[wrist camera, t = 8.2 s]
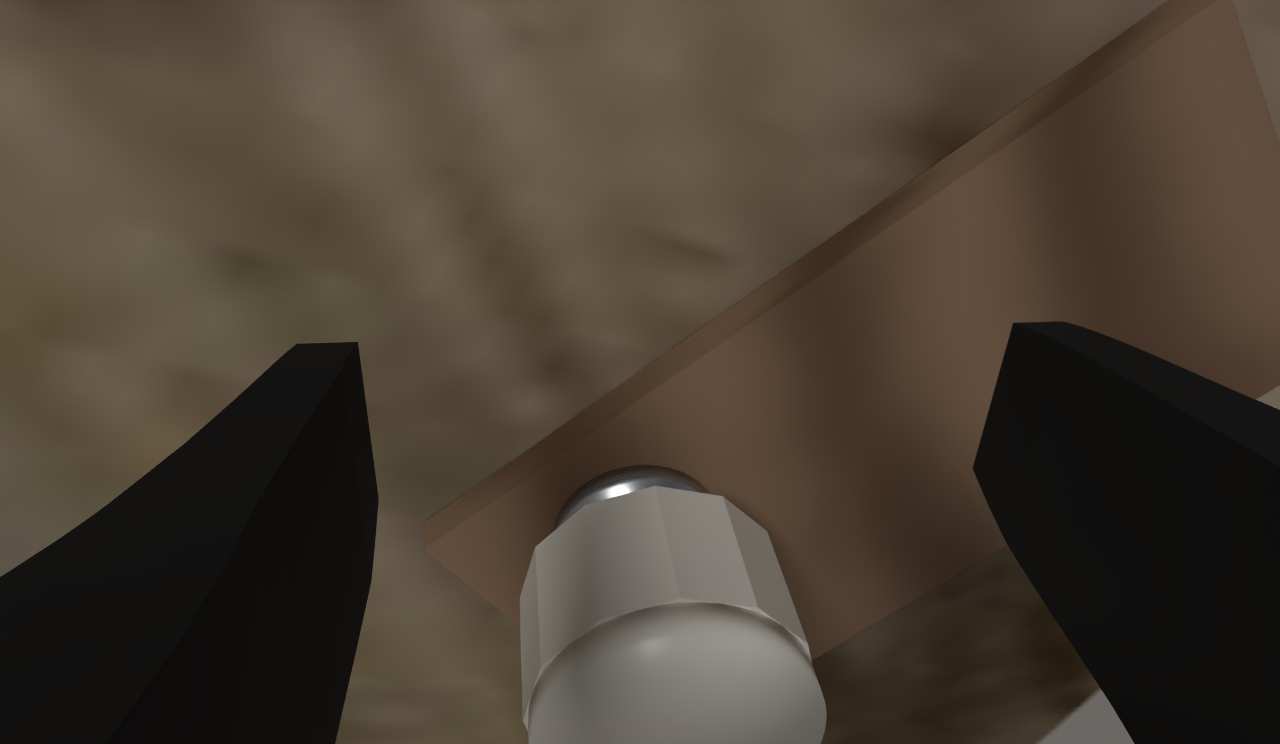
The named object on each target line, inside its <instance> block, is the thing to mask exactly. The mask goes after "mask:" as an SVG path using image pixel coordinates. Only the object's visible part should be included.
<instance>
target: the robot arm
mask: <svg viewBox="0 0 1280 744" xmlns="http://www.w3.org/2000/svg"><path fill="white" fill-rule="evenodd" d="M973 471H974V473H975V476H976V478H977V480H978V483H979V485H980V487H981V490H982V492H983V494H984V497H985V499H986V501H987V504H988V506H989V508H990V510H991V512H992V515H993V517H994V519H995V521H996V523H997V525H998V527H999V529H1000V531H1001V533H1002V535H1003V537H1004V540H1005V541H1006V543H1007V545H1008V546H1009V548H1010V550H1011V551H1012V553H1013V554H1014V556H1015V558H1016V559H1017V561H1018V562H1019V564H1020V566H1021V567H1022V569H1023V570H1024V572H1025V573H1026V575H1027V576H1028V578H1029V580H1030V581H1031V583H1032V584H1033V586H1034V587H1035V589H1036V590H1037V592H1038V594H1039V595H1040V597H1041V598H1042V600H1043V601H1044V603H1045V604H1046V606H1047V607H1048V609H1049V610H1050V612H1051V613H1052V615H1053V617H1054V618H1055V620H1056V621H1057V623H1058V624H1059V626H1060V627H1061V629H1062V630H1063V632H1064V633H1065V635H1066V636H1067V638H1068V639H1069V641H1070V642H1071V644H1072V645H1073V647H1074V648H1075V650H1076V651H1077V653H1078V655H1079V656H1080V658H1081V659H1082V661H1083V662H1084V664H1085V665H1086V667H1087V668H1088V670H1089V671H1090V673H1091V674H1092V676H1093V677H1094V679H1095V680H1096V682H1097V683H1098V685H1099V686H1100V688H1101V690H1102V691H1103V693H1104V694H1105V696H1106V697H1107V699H1108V700H1109V702H1110V703H1111V705H1112V706H1113V708H1114V710H1115V711H1116V713H1117V715H1118V717H1119V718H1120V720H1121V721H1122V723H1123V725H1124V727H1125V728H1126V730H1127V732H1128V733H1129V735H1130V737H1131V738H1132V740H1133V742H1134V743H1135V744H1280V410H1278V409H1276V408H1274V407H1271V406H1269V405H1267V404H1264V403H1262V402H1260V401H1257V400H1255V399H1253V398H1250V397H1248V396H1246V395H1244V394H1241V393H1239V392H1237V391H1234V390H1232V389H1230V388H1228V387H1225V386H1223V385H1221V384H1218V383H1216V382H1214V381H1212V380H1209V379H1207V378H1205V377H1203V376H1200V375H1198V374H1196V373H1194V372H1191V371H1189V370H1187V369H1184V368H1182V367H1180V366H1178V365H1175V364H1173V363H1171V362H1168V361H1166V360H1164V359H1162V358H1159V357H1157V356H1155V355H1152V354H1150V353H1148V352H1146V351H1143V350H1141V349H1139V348H1136V347H1134V346H1131V345H1129V344H1126V343H1124V342H1122V341H1119V340H1117V339H1114V338H1112V337H1109V336H1106V335H1104V334H1101V333H1099V332H1096V331H1093V330H1090V329H1087V328H1084V327H1081V326H1078V325H1074V324H1071V323H1068V322H1064V321H1056V322H1022V323H1013V325H1012V328H1011V332H1010V335H1009V339H1008V342H1007V346H1006V350H1005V353H1004V357H1003V360H1002V364H1001V368H1000V371H999V375H998V378H997V382H996V386H995V389H994V393H993V396H992V400H991V403H990V407H989V411H988V414H987V418H986V421H985V425H984V429H983V432H982V436H981V439H980V443H979V447H978V450H977V454H976V457H975V461H974V465H973ZM378 500H379V498H378V491H377V483H376V476H375V468H374V461H373V453H372V446H371V438H370V430H369V423H368V415H367V408H366V400H365V393H364V385H363V378H362V370H361V363H360V355H359V348H358V342H345V343H311V344H296V345H295V346H294V347H292V348H291V349H290V350H289V351H287V352H286V353H285V354H284V355H283V356H282V357H281V358H279V359H278V360H277V361H276V362H275V363H274V364H273V365H272V366H271V367H270V368H269V369H267V370H266V371H265V372H264V373H263V374H262V375H261V376H260V377H259V378H258V379H257V380H256V381H254V382H253V383H252V384H251V385H250V386H249V387H248V388H247V389H246V390H245V391H244V392H242V393H241V394H240V395H239V396H238V397H237V398H236V399H235V400H234V401H233V402H231V403H230V404H229V405H228V406H227V407H226V408H225V409H223V410H222V411H221V412H220V413H219V414H218V415H217V416H216V417H214V418H213V419H212V420H211V421H210V422H209V423H208V424H206V425H205V426H204V427H203V428H202V429H201V430H200V431H199V432H197V433H196V434H195V435H194V436H193V437H192V438H191V439H189V440H188V441H187V442H186V443H185V444H184V445H182V446H181V447H180V448H179V449H177V450H176V451H175V452H174V453H172V454H171V455H170V456H168V457H167V458H166V459H165V460H163V461H162V462H161V463H160V464H158V465H157V466H156V467H155V468H153V469H152V470H151V471H150V472H148V473H147V474H146V475H144V476H143V477H142V478H141V479H139V480H138V481H137V482H136V483H134V484H133V485H132V486H131V487H129V488H128V489H127V490H125V491H124V492H123V493H122V494H120V495H119V496H118V497H117V498H115V499H114V500H113V501H112V502H110V503H109V504H108V505H106V506H105V507H104V508H102V509H101V510H100V511H98V512H97V513H95V514H94V515H93V516H91V517H90V518H88V519H87V520H86V521H84V522H83V523H81V524H80V525H79V526H77V527H76V528H74V529H73V530H71V531H70V532H68V533H67V534H66V535H64V536H63V537H61V538H60V539H58V540H57V541H55V542H54V543H52V544H51V545H49V546H48V547H46V548H45V549H43V550H41V551H40V552H38V553H37V554H35V555H34V556H32V557H31V558H29V559H28V560H26V561H25V562H23V563H21V564H20V565H18V566H17V567H15V568H14V569H12V570H11V571H9V572H8V573H6V574H5V575H3V576H1V577H0V744H335V741H336V737H337V733H338V728H339V724H340V719H341V715H342V710H343V706H344V702H345V697H346V693H347V688H348V684H349V680H350V675H351V671H352V666H353V662H354V657H355V653H356V649H357V644H358V640H359V635H360V631H361V626H362V621H363V617H364V612H365V608H366V603H367V599H368V594H369V589H370V584H371V579H372V569H373V558H374V548H375V537H376V524H377V512H378Z"/></svg>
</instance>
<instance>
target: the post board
mask: <svg viewBox="0 0 1280 744" xmlns="http://www.w3.org/2000/svg"><path fill="white" fill-rule="evenodd" d="M1056 321H1064V322H1068V323H1071V324H1074V325H1078V326H1081V327H1084V328H1087V329H1090V330H1093V331H1096V332H1099V333H1101V334H1104V335H1106V336H1109V337H1112V338H1114V339H1117V340H1119V341H1122V342H1124V343H1126V344H1129V345H1131V346H1134V347H1136V348H1139V349H1141V350H1143V351H1146V352H1148V353H1150V354H1152V355H1155V356H1157V357H1159V358H1162V359H1164V360H1166V361H1168V362H1171V363H1173V364H1175V365H1178V366H1180V367H1182V368H1184V369H1187V370H1189V371H1191V372H1194V373H1196V374H1198V375H1200V376H1203V377H1205V378H1207V379H1209V380H1212V381H1214V382H1216V383H1218V384H1221V385H1223V386H1225V387H1228V388H1230V389H1232V390H1234V391H1237V392H1239V393H1241V394H1244V395H1246V396H1248V397H1250V398H1253V399H1257V398H1259V397H1260V396H1262V395H1264V394H1265V393H1267V392H1269V391H1270V390H1272V389H1274V388H1276V387H1277V386H1279V385H1280V145H1279V142H1278V139H1277V136H1276V133H1275V130H1274V127H1273V124H1272V121H1271V118H1270V115H1269V112H1268V109H1267V106H1266V103H1265V100H1264V97H1263V94H1262V91H1261V88H1260V84H1259V81H1258V78H1257V75H1256V72H1255V69H1254V66H1253V63H1252V60H1251V57H1250V54H1249V51H1248V48H1247V45H1246V42H1245V39H1244V36H1243V33H1242V30H1241V27H1240V24H1239V20H1238V17H1237V14H1236V11H1235V8H1234V5H1233V2H1232V0H1170V1H1168V2H1167V3H1165V4H1164V5H1162V6H1161V7H1160V8H1158V9H1157V10H1155V11H1154V12H1152V13H1151V14H1150V15H1148V16H1147V17H1145V18H1144V19H1142V20H1141V21H1140V22H1138V23H1137V24H1135V25H1134V26H1132V27H1131V28H1130V29H1128V30H1127V31H1125V32H1124V33H1122V34H1121V35H1120V36H1118V37H1117V38H1115V39H1114V40H1112V41H1111V42H1110V43H1108V44H1107V45H1105V46H1104V47H1102V48H1101V49H1100V50H1098V51H1097V52H1095V53H1094V54H1092V55H1091V56H1090V57H1088V58H1087V59H1085V60H1084V61H1082V62H1081V63H1080V64H1078V65H1077V66H1075V67H1074V68H1072V69H1071V70H1070V71H1068V72H1067V73H1065V74H1064V75H1062V76H1061V77H1060V78H1058V79H1057V80H1055V81H1054V82H1053V83H1051V84H1050V85H1048V86H1047V87H1045V88H1044V89H1043V90H1041V91H1040V92H1038V93H1037V94H1035V95H1034V96H1033V97H1031V98H1030V99H1028V100H1027V101H1025V102H1024V103H1023V104H1021V105H1020V106H1018V107H1017V108H1015V109H1014V110H1013V111H1011V112H1010V113H1008V114H1007V115H1005V116H1004V117H1003V118H1001V119H1000V120H998V121H997V122H995V123H994V124H993V125H991V126H990V127H988V128H987V129H985V130H984V131H983V132H981V133H980V134H978V135H977V136H975V137H974V138H973V139H971V140H970V141H968V142H967V143H965V144H964V145H963V146H961V147H960V148H958V149H957V150H955V151H954V152H953V153H951V154H950V155H948V156H947V157H945V158H944V159H943V160H941V161H940V162H938V163H937V164H935V165H934V166H933V167H931V168H930V169H928V170H927V171H926V172H924V173H923V174H921V175H920V176H918V177H917V178H916V179H914V180H913V181H911V182H910V183H908V184H907V185H906V186H904V187H903V188H901V189H900V190H898V191H897V192H896V193H894V194H893V195H891V196H890V197H888V198H887V199H886V200H884V201H883V202H881V203H880V204H878V205H877V206H876V207H874V208H873V209H871V210H870V211H868V212H867V213H866V214H864V215H863V216H861V217H860V218H858V219H857V220H856V221H854V222H853V223H851V224H850V225H848V226H847V227H846V228H844V229H843V230H841V231H840V232H838V233H837V234H836V235H834V236H833V237H831V238H830V239H828V240H827V241H826V242H824V243H823V244H821V245H820V246H818V247H817V248H816V249H814V250H813V251H811V252H810V253H809V254H807V255H806V256H804V257H803V258H801V259H800V260H799V261H797V262H796V263H794V264H793V265H791V266H790V267H789V268H787V269H786V270H784V271H783V272H781V273H780V274H779V275H777V276H776V277H774V278H773V279H771V280H770V281H769V282H767V283H766V284H764V285H763V286H761V287H760V288H759V289H757V290H756V291H754V292H753V293H751V294H750V295H749V296H747V297H746V298H744V299H743V300H741V301H740V302H739V303H737V304H736V305H734V306H733V307H731V308H730V309H729V310H727V311H726V312H724V313H723V314H721V315H720V316H719V317H717V318H716V319H714V320H713V321H711V322H710V323H709V324H707V325H706V326H704V327H703V328H701V329H700V330H699V331H697V332H696V333H694V334H693V335H691V336H690V337H689V338H687V339H686V340H684V341H683V342H682V343H680V344H679V345H677V346H676V347H674V348H673V349H672V350H670V351H669V352H667V353H666V354H664V355H663V356H662V357H660V358H659V359H657V360H656V361H654V362H653V363H652V364H650V365H649V366H647V367H646V368H644V369H643V370H642V371H640V372H639V373H637V374H636V375H634V376H633V377H632V378H630V379H629V380H627V381H626V382H624V383H623V384H622V385H620V386H619V387H617V388H616V389H614V390H613V391H612V392H610V393H609V394H607V395H606V396H604V397H603V398H602V399H600V400H599V401H597V402H596V403H594V404H593V405H592V406H590V407H589V408H587V409H586V410H584V411H583V412H582V413H580V414H579V415H577V416H576V417H574V418H573V419H572V420H570V421H569V422H567V423H566V424H564V425H563V426H562V427H560V428H559V429H557V430H556V431H555V432H553V433H552V434H550V435H549V436H547V437H546V438H545V439H543V440H542V441H540V442H539V443H537V444H536V445H535V446H533V447H532V448H530V449H529V450H527V451H526V452H525V453H523V454H522V455H520V456H519V457H517V458H516V459H515V460H513V461H512V462H510V463H509V464H507V465H506V466H505V467H503V468H502V469H500V470H499V471H497V472H496V473H495V474H493V475H492V476H490V477H489V478H487V479H486V480H485V481H483V482H482V483H480V484H479V485H477V486H476V487H475V488H473V489H472V490H470V491H469V492H467V493H466V494H465V495H463V496H462V497H460V498H459V499H457V500H456V501H455V502H453V503H452V504H450V505H449V506H447V507H446V508H445V509H443V510H442V511H440V512H439V513H438V514H436V515H435V516H433V517H432V518H430V519H429V520H428V521H426V522H425V533H424V545H423V550H424V551H425V552H426V553H427V554H429V555H430V556H431V557H432V558H434V559H435V560H436V561H437V562H439V563H440V564H441V565H442V566H444V567H445V568H446V569H447V570H449V571H450V572H451V573H453V574H454V575H455V576H456V577H458V578H459V579H460V580H461V581H463V582H464V583H465V584H466V585H468V586H469V587H470V588H471V589H473V590H474V591H475V592H476V593H478V594H479V595H480V596H481V597H483V598H484V599H485V600H486V601H488V602H489V603H490V604H491V605H493V606H494V607H495V608H496V609H498V610H499V611H500V612H502V613H503V614H504V615H505V616H507V617H508V618H509V619H510V620H512V621H513V622H514V623H515V624H517V625H518V626H519V627H520V595H521V592H522V589H523V586H524V582H525V579H526V576H527V572H528V569H529V566H530V563H531V559H532V556H533V553H534V549H535V547H536V546H537V545H538V544H539V543H541V542H542V541H543V540H544V539H545V538H547V537H548V536H549V535H550V534H551V533H552V532H554V531H555V530H556V529H557V528H558V527H560V526H561V525H562V524H563V523H564V522H565V521H567V520H568V519H569V518H570V517H571V516H572V515H574V514H575V513H576V512H577V511H578V510H580V509H581V508H582V507H583V506H584V505H586V504H590V503H594V502H597V501H601V500H605V499H608V498H612V497H616V496H619V495H623V494H627V493H630V492H634V491H638V490H641V489H645V488H649V487H652V486H660V487H666V488H673V489H679V490H686V491H692V492H699V493H706V494H712V495H719V496H723V497H724V498H726V499H727V500H728V501H730V502H731V503H732V504H733V505H735V506H736V507H737V508H738V509H740V510H741V511H742V512H743V513H745V514H746V515H747V516H748V517H750V518H751V519H752V520H754V521H755V522H756V523H757V524H759V525H760V526H761V527H762V528H764V529H765V530H766V531H767V532H768V535H769V538H770V540H771V543H772V546H773V549H774V552H775V554H776V557H777V560H778V563H779V565H780V568H781V571H782V574H783V576H784V579H785V582H786V585H787V587H788V590H789V593H790V596H791V598H792V601H793V604H794V607H795V610H796V612H797V615H798V618H799V621H800V623H801V626H802V629H803V632H804V634H805V637H806V640H807V643H808V646H809V651H810V656H811V661H813V660H815V659H816V658H818V657H820V656H821V655H823V654H825V653H826V652H828V651H830V650H832V649H833V648H835V647H837V646H838V645H840V644H842V643H843V642H845V641H847V640H848V639H850V638H852V637H854V636H855V635H857V634H859V633H860V632H862V631H864V630H865V629H867V628H869V627H870V626H872V625H874V624H876V623H877V622H879V621H881V620H882V619H884V618H886V617H887V616H889V615H891V614H893V613H894V612H896V611H898V610H899V609H901V608H903V607H904V606H906V605H908V604H909V603H911V602H913V601H915V600H916V599H918V598H920V597H921V596H923V595H925V594H926V593H928V592H930V591H932V590H933V589H935V588H937V587H938V586H940V585H942V584H943V583H945V582H947V581H948V580H950V579H952V578H954V577H955V576H957V575H959V574H960V573H962V572H964V571H965V570H967V569H969V568H970V567H972V566H974V565H976V564H977V563H979V562H981V561H982V560H984V559H986V558H987V557H989V556H991V555H993V554H994V553H996V552H998V551H999V550H1001V549H1003V548H1004V547H1006V546H1008V545H1007V543H1006V541H1005V540H1004V537H1003V535H1002V533H1001V531H1000V529H999V527H998V525H997V523H996V521H995V519H994V517H993V515H992V512H991V510H990V508H989V506H988V504H987V501H986V499H985V497H984V494H983V492H982V490H981V487H980V485H979V483H978V480H977V478H976V476H975V473H974V471H973V465H974V461H975V457H976V454H977V450H978V447H979V443H980V439H981V436H982V432H983V429H984V425H985V421H986V418H987V414H988V411H989V407H990V403H991V400H992V396H993V393H994V389H995V386H996V382H997V378H998V375H999V371H1000V368H1001V364H1002V360H1003V357H1004V353H1005V350H1006V346H1007V342H1008V339H1009V335H1010V332H1011V328H1012V325H1013V323H1022V322H1056Z"/></svg>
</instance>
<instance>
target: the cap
mask: <svg viewBox="0 0 1280 744" xmlns="http://www.w3.org/2000/svg"><path fill="white" fill-rule="evenodd" d="M520 632H521V671H522V710H523V722H524V724H525V726H526V728H527V730H528V736H529V744H821V742H822V739H823V735H824V732H825V728H826V718H827V714H826V704H825V700H824V697H823V694H822V691H821V688H820V685H819V683H818V680H817V677H816V674H815V671H814V669H813V666H812V661H811V656H810V651H809V646H808V643H807V640H806V637H805V634H804V632H803V629H802V626H801V623H800V621H799V618H798V615H797V612H796V610H795V607H794V604H793V601H792V598H791V596H790V593H789V590H788V587H787V585H786V582H785V579H784V576H783V574H782V571H781V568H780V565H779V563H778V560H777V557H776V554H775V552H774V549H773V546H772V543H771V540H770V538H769V535H768V532H767V531H766V530H765V529H764V528H762V527H761V526H760V525H759V524H757V523H756V522H755V521H754V520H752V519H751V518H750V517H748V516H747V515H746V514H745V513H743V512H742V511H741V510H740V509H738V508H737V507H736V506H735V505H733V504H732V503H731V502H730V501H728V500H727V499H726V498H724V497H723V496H719V495H712V494H706V493H699V492H692V491H686V490H679V489H673V488H666V487H660V486H652V487H649V488H645V489H641V490H638V491H634V492H630V493H627V494H623V495H619V496H616V497H612V498H608V499H605V500H601V501H597V502H594V503H590V504H586V505H584V506H583V507H582V508H581V509H580V510H578V511H577V512H576V513H575V514H574V515H572V516H571V517H570V518H569V519H568V520H567V521H565V522H564V523H563V524H562V525H561V526H560V527H558V528H557V529H556V530H555V531H554V532H552V533H551V534H550V535H549V536H548V537H547V538H545V539H544V540H543V541H542V542H541V543H539V544H538V545H537V546H536V547H535V549H534V553H533V556H532V559H531V563H530V566H529V569H528V572H527V576H526V579H525V582H524V586H523V589H522V592H521V595H520Z"/></svg>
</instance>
